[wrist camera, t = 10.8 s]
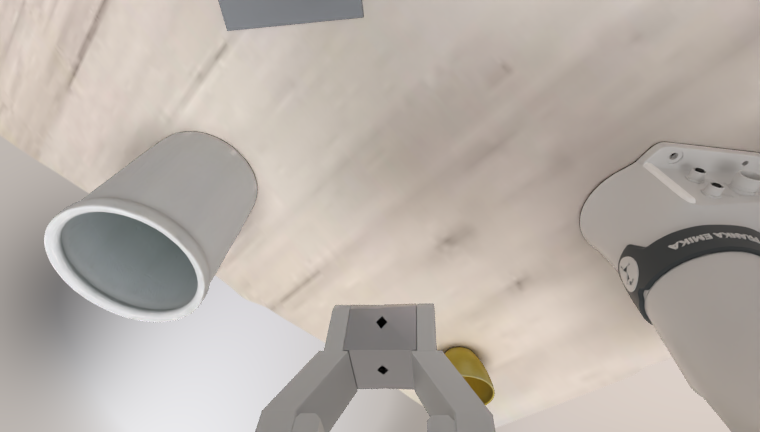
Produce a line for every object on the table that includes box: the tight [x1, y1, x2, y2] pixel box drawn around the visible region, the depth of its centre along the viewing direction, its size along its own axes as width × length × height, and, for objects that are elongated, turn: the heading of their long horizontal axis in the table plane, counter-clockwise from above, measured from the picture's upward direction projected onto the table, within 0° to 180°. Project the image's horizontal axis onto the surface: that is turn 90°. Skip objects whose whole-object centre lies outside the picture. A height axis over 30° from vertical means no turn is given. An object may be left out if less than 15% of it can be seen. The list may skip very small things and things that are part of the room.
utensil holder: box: [44, 131, 257, 322], centre depth 45 cm, size 15×15×18 cm
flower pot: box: [445, 347, 495, 405], centre depth 67 cm, size 10×10×7 cm
